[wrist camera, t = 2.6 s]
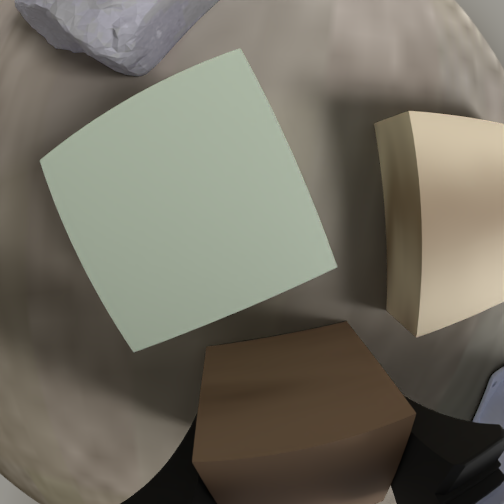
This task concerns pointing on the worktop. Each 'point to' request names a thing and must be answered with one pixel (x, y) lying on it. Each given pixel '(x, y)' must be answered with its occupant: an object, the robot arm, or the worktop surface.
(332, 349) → the walnut cube
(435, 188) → the oak block
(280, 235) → the sage cube
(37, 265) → the worktop surface
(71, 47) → the stone block
